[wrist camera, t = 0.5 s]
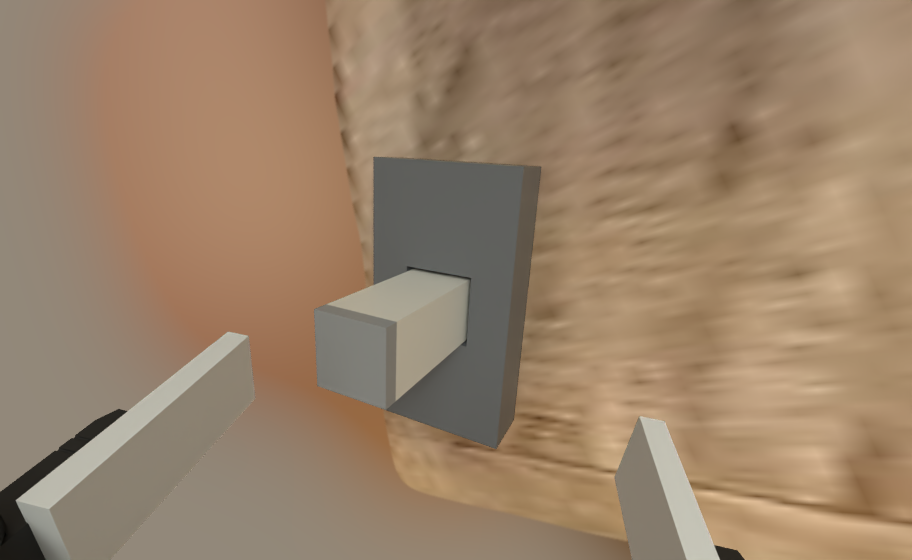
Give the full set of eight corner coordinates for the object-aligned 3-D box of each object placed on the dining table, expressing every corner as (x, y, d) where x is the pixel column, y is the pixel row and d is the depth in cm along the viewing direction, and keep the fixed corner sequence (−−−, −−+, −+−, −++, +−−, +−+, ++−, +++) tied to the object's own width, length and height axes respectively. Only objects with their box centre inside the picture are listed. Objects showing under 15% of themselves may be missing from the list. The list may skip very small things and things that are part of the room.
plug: (431, 261, 36) (314, 309, 24) (484, 271, 34) (386, 327, 22) (429, 315, 38) (317, 386, 26) (480, 327, 36) (385, 410, 24)
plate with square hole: (404, 157, 36) (373, 156, 32) (541, 166, 32) (523, 166, 28) (400, 383, 43) (373, 405, 39) (513, 419, 38) (496, 449, 34)
